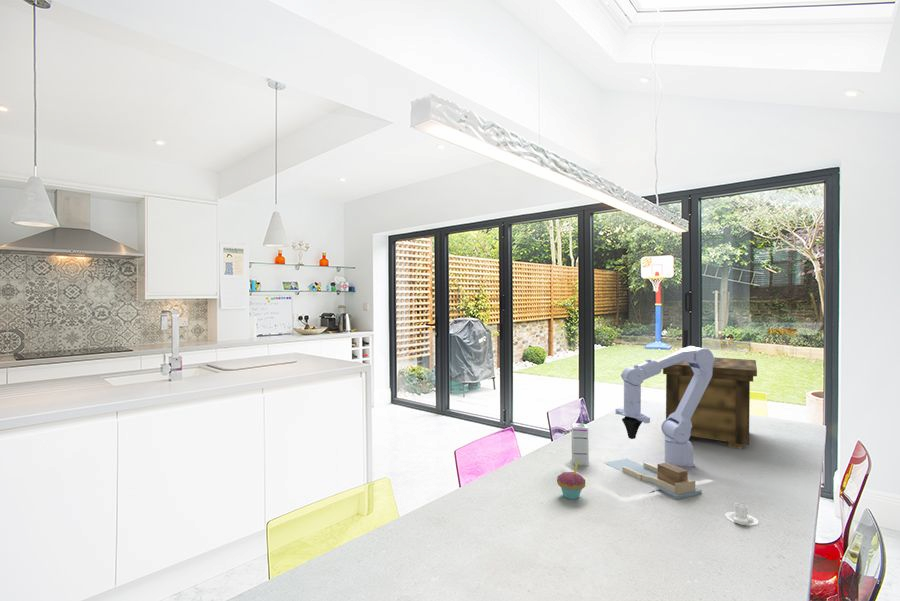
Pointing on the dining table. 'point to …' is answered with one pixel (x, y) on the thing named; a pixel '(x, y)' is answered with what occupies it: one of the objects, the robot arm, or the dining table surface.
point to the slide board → (655, 478)
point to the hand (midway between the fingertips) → (631, 438)
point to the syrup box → (580, 444)
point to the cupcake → (571, 483)
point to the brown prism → (671, 473)
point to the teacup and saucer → (741, 515)
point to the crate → (716, 399)
